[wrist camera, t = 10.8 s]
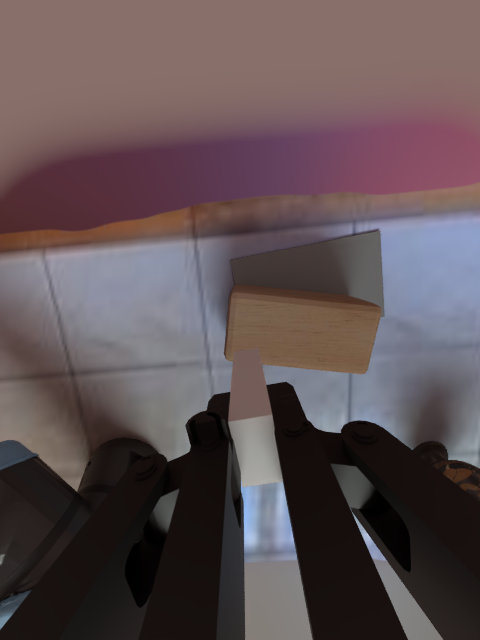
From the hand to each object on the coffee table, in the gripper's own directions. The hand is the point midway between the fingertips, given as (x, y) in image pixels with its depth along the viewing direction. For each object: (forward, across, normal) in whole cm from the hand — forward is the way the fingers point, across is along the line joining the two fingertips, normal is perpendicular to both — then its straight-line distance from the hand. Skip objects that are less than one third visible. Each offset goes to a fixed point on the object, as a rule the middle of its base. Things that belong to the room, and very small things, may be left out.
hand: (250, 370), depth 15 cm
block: (+22, -3, -1) cm, 22 cm away
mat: (+27, +11, 0) cm, 29 cm away
